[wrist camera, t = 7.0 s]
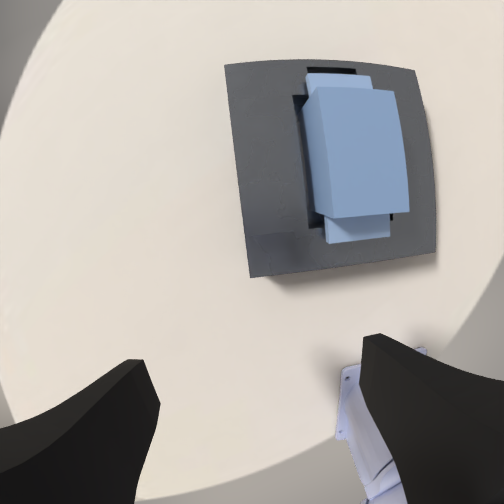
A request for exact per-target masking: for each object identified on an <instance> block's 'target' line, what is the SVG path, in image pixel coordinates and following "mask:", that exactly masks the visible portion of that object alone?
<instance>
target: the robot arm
mask: <svg viewBox="0 0 504 504" xmlns="http://www.w3.org/2000/svg"><path fill="white" fill-rule="evenodd" d="M426 353H427V350H426V349H425V348H424V347H421V348H417V349H412V348H410V347H408V346H406V345H404V344H402V343H400V342H398V341H396V340H394V339H392V338H390V337H388V336H386V335H383V334H381V333H379V334H375V335H370V336H366V337H363V348H362V359H361V364H358V365H353V366H349V367H346V368H344V369H343V370H342V372H341V384H340V396H339V407H338V416H337V425H336V433H335V438H336V440H343V439H346V440H347V442H348V446H349V448H350V451H351V454H352V457H353V460H354V463H355V466H356V468H357V471H358V474H359V477H360V480H361V482H362V483H363V485H364V486H365V487H364V488H365V491H366V494H367V498H365V499H364V500H363V501H362V502H361V503H360V504H504V381H501V380H495V379H491V378H486V377H483V376H479V375H475V374H472V373H469V372H465V371H462V370H460V369H457V368H454V367H452V366H449V365H447V364H444V363H442V362H440V361H437V360H435V359H433V358H431V357H429V356H426ZM348 376H349V377H348ZM346 377H348V378H346ZM160 404H161V403H160V401H159V399H158V396H157V394H156V391H155V389H154V386H153V384H152V381H151V379H150V376H149V373H148V371H147V368H146V365H145V363H144V360H138V359H128V360H126V361H124V362H122V363H121V364H119V365H118V366H116V367H115V368H113V369H112V370H110V371H109V372H107V373H106V374H105V375H103V376H102V377H100V378H99V379H97V380H96V381H95V382H93V383H92V384H90V385H89V386H87V387H86V388H85V389H83V390H82V391H80V392H78V393H77V394H75V395H74V396H72V397H70V398H69V399H67V400H66V401H64V402H62V403H61V404H59V405H57V406H56V407H54V408H52V409H50V410H48V411H46V412H44V413H42V414H40V415H38V416H35V417H33V418H31V419H28V420H25V421H22V422H20V423H17V424H14V425H11V426H8V427H4V428H1V429H0V504H134V501H135V495H136V489H137V484H138V481H139V477H140V474H141V471H142V468H143V465H144V462H145V459H146V456H147V453H148V450H149V447H150V444H151V441H152V439H153V436H154V433H155V429H156V426H157V421H158V416H159V410H160Z"/></svg>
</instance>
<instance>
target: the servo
mask: <svg viewBox="0 0 504 504" xmlns="http://www.w3.org/2000/svg"><path fill="white" fill-rule="evenodd" d="M305 78H306V83H307V89H308V94H309V99H308V100H307V102H306V103H305V104H304V106H303V107H302V109H301V110H300V112H299V113H298V119H299V125H300V132H301V139H302V147H303V154H304V162H305V171H306V179H307V189H308V198H309V208H310V210H311V211H314V212H317V213H320V214H323V215H324V220H325V234H326V242H327V243H329V244H332V243H340V242H348V241H357V240H365V239H373V238H382V237H390V214H389V213H401V212H409V193H408V180H407V169H406V160H405V152H404V145H403V138H402V131H401V125H400V120H399V114H398V109H397V104H396V99H395V95H394V91H388V90H378V89H373V87H372V82H371V78H370V76H363V75H350V74H328V73H307V75H306V77H305Z"/></svg>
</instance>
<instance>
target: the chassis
mask: <svg viewBox="0 0 504 504" xmlns="http://www.w3.org/2000/svg"><path fill="white" fill-rule="evenodd" d="M224 68H225V76H226V85H227V93H228V102H229V110H230V119H231V127H232V135H233V144H234V152H235V160H236V168H237V177H238V185H239V193H240V201H241V209H242V217H243V225H244V233H245V241H246V249H247V257H248V265H249V273H250V278H255V277H264V276H272V275H280V274H288V273H296V272H304V271H312V270H319V269H327V268H334V267H341V266H348V265H355V264H362V263H369V262H376V261H383V260H389V259H396V258H402V257H409V256H415V255H421V254H427V253H433V252H436V202H435V184H434V172H433V162H432V154H431V146H430V139H429V133H428V127H427V121H426V116H425V111H424V106H423V101H422V97H421V93H420V89H419V85H418V81H417V77H416V73H415V70H410V69H405V68H399V67H393V66H387V65H380V64H372V63H363V62H353V61H339V60H312V59H296V60H269V61H255V62H245V63H235V64H227V65H224ZM307 73H328V74H350V75H363V76H370V78H371V82H372V87H373V89H378V90H388V91H394V95H395V99H396V104H397V109H398V114H399V120H400V125H401V131H402V138H403V145H404V152H405V160H406V169H407V180H408V193H409V212H401V213H389V214H390V237H382V238H373V239H365V240H357V241H348V242H340V243H332V244H329V243H327V242H326V234H325V220H324V215H323V214H320V213H317V212H314V211H311V210H310V208H309V198H308V189H307V179H306V171H305V162H304V154H303V147H302V139H301V132H300V125H299V119H298V113H299V112H300V110H301V109H302V107H303V106H304V104H305V103H306V102H307V100H308V99H309V94H308V89H307V83H306V78H305V77H306V75H307Z"/></svg>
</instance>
